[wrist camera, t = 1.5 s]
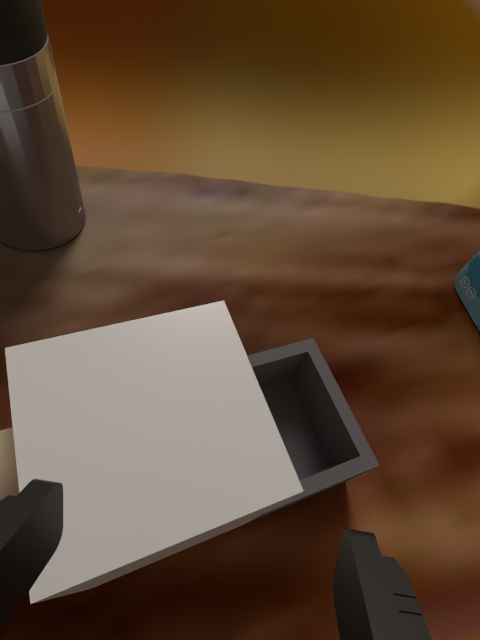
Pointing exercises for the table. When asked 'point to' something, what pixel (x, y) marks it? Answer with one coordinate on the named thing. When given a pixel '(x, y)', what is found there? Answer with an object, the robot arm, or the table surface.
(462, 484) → the table surface
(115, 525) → the tunnel
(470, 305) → the data package
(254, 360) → the grey open box
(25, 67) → the robot arm
